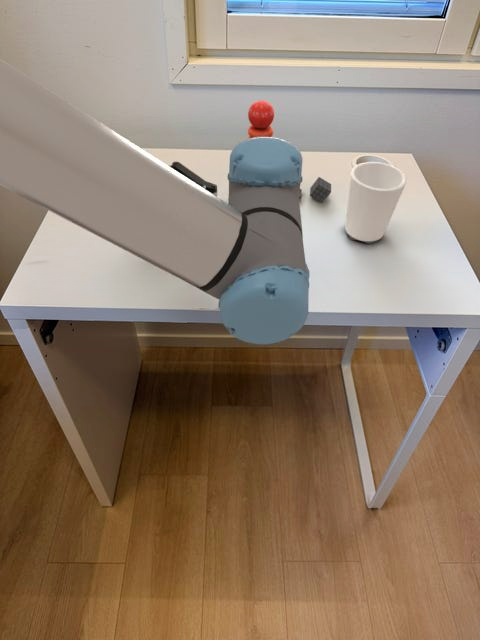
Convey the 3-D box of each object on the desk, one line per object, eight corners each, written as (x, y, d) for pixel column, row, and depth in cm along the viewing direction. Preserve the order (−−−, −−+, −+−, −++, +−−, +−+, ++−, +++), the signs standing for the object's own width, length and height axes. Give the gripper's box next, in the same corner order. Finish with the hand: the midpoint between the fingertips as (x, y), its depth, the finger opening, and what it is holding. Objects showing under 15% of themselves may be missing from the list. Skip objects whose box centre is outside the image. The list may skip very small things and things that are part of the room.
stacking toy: (282, 187, 103) (291, 100, 90) (264, 203, 99) (270, 115, 85) (252, 176, 106) (256, 90, 92) (233, 192, 101) (234, 104, 88)
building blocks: (331, 192, 97) (299, 173, 95) (315, 210, 101) (284, 193, 99) (331, 184, 99) (299, 165, 97) (316, 202, 103) (285, 185, 101)
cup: (399, 236, 92) (418, 178, 83) (365, 255, 88) (381, 196, 78) (361, 213, 97) (376, 155, 88) (328, 229, 93) (339, 171, 84)
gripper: (156, 281, 61) (71, 203, 73) (258, 227, 70) (167, 165, 81) (149, 235, 56) (58, 159, 67) (261, 182, 64) (163, 123, 76)
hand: (118, 162), depth 74 cm, fingers closed on pill bottle, 5 cm apart
